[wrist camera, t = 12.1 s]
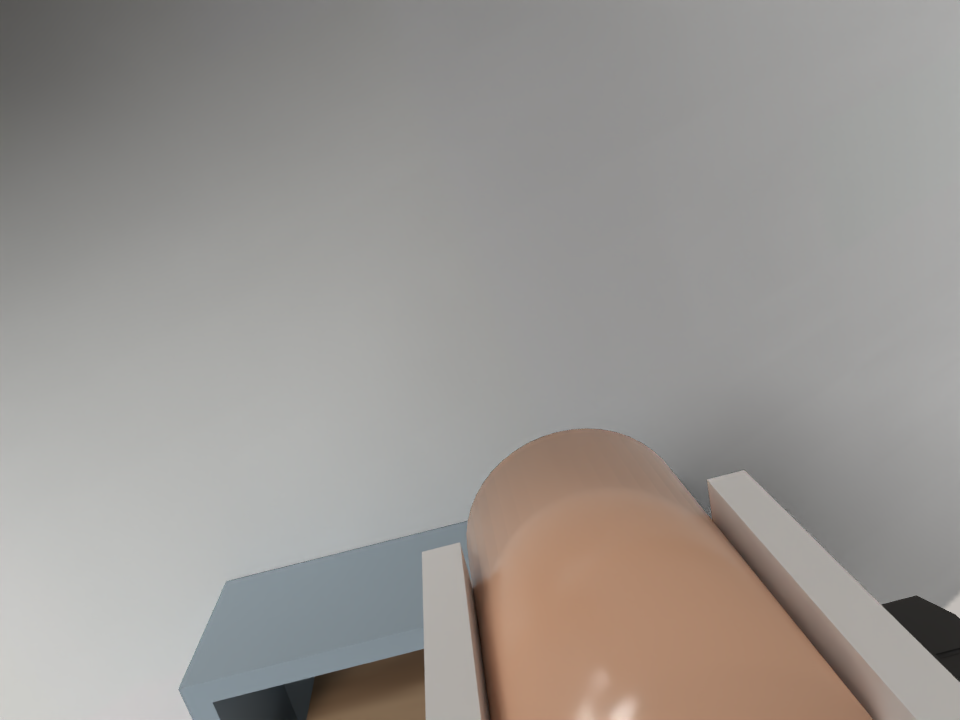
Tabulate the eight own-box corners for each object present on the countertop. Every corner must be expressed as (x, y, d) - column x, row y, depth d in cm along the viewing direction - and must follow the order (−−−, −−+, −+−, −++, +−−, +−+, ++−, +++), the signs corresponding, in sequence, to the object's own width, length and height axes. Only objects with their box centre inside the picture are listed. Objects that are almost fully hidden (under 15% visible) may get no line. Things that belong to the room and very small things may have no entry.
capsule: (442, 461, 14) (465, 728, 8) (669, 403, 14) (888, 619, 8) (493, 648, 16) (550, 1007, 9) (698, 595, 16) (902, 912, 9)
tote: (226, 581, 26) (178, 689, 21) (662, 472, 26) (723, 551, 21) (328, 829, 30) (310, 969, 25) (704, 732, 31) (763, 852, 25)
